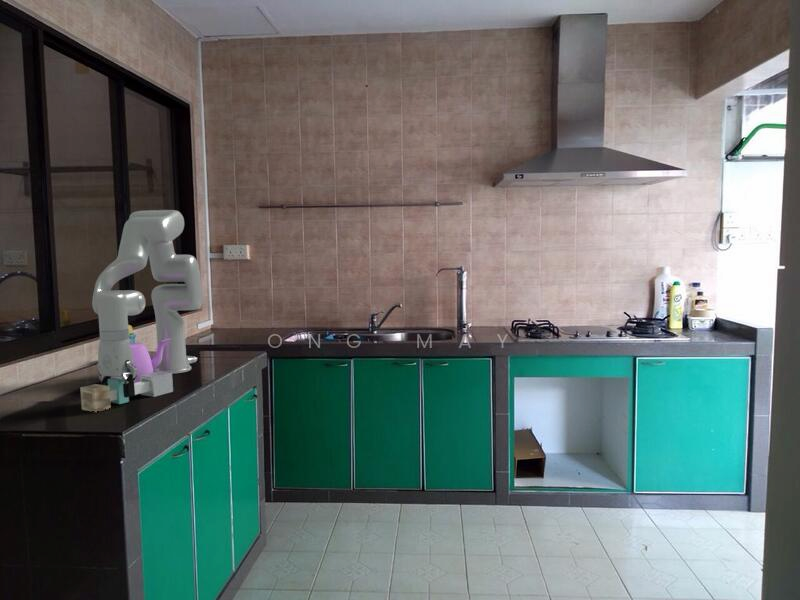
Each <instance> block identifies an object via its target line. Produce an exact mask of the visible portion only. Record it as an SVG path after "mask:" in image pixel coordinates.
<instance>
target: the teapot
mask: <svg viewBox="0 0 800 600" xmlns="http://www.w3.org/2000/svg"><path fill="white" fill-rule="evenodd" d="M130 340H131V339H129V342H130ZM169 340H170V339H166V340H162V341H160V342H159V344H158V346H157V347H156V353H155V354H154V355H153V356H152V357H151V356H150V353H149V351H148V349H147V347H146V346H145V344H144V343H142V342H135V343H130V346H131V352H132V359H133V365H134V366H136V367H137V368H138V371H137V377H136V379H135V382H134V383H137V382H140V375H144V374H148V373H152V372H154V370H155V369H156V368H158V367H159V365H160V363H161V360H162V355H163V348H164V345H165V344H166V343H167V342H168V341H169ZM100 377H101V376H100V375H99V374H98V378H99V381H100V382H101V383H102V380H101V379H100ZM126 377H127V378H128V376H126ZM111 378H115V377H111ZM111 378H110V379H111ZM120 378H122V377H121V376H120Z"/></svg>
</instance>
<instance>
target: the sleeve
mask: <svg viewBox="0 0 800 600" xmlns="http://www.w3.org/2000/svg"><path fill="white" fill-rule="evenodd" d="M146 380H148V381H151V391H148V392H144V393H140V395H141V396H146V397H147V396H148V397H154V398H155V397H158V396H162V395H165V394H169V393H173V392H174V386H173V385H174V384H173V383H174V382H173V380H174V379H173V374H172V372H163V371H157V372H152V373H148V374H144V375H140V382H141V381H146Z"/></svg>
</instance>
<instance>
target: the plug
mask: <svg viewBox="0 0 800 600" xmlns="http://www.w3.org/2000/svg"><path fill="white" fill-rule="evenodd" d="M123 384H124V381H123V379H122V378H120V377H115V378H111V379H108V386H109V388H110V402H111V403H112V404H116V405H122V404H126V403H128V402H130V397H126V398H125V397H124V392H123ZM134 388H135V395H134V396H137V395H139V394H140V395H141V393H144V392H148V391H151V381H148V380H146V381H141V382H137V383H134Z"/></svg>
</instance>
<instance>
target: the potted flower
mask: <svg viewBox="0 0 800 600" xmlns="http://www.w3.org/2000/svg"><path fill="white" fill-rule="evenodd" d="M128 330H129V339H131V340H130V343H136V336H137V335H136V333H134V329H133V326H132V325H131V324H128Z"/></svg>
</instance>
